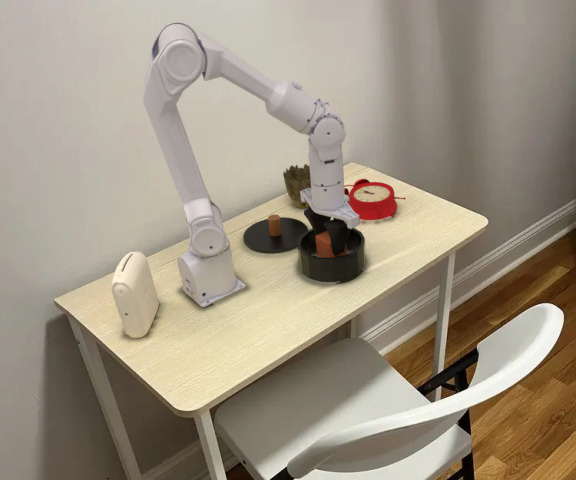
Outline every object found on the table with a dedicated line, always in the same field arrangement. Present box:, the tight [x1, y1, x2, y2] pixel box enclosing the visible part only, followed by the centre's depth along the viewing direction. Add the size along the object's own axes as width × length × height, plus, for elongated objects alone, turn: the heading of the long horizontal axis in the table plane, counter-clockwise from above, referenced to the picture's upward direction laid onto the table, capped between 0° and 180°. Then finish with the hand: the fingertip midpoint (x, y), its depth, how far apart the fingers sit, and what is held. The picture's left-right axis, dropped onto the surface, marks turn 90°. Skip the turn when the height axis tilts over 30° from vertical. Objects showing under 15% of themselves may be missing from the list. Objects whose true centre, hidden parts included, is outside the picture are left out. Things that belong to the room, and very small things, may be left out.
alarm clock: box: [344, 178, 406, 221], centre depth 142 cm, size 10×6×15 cm
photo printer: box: [110, 251, 160, 339], centre depth 117 cm, size 10×4×12 cm, turn 172°
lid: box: [242, 214, 309, 254], centre depth 136 cm, size 13×13×5 cm
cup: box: [282, 163, 311, 209], centre depth 144 cm, size 8×7×8 cm
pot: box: [296, 227, 366, 285], centre depth 127 cm, size 12×12×5 cm
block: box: [316, 231, 348, 258], centre depth 125 cm, size 4×4×4 cm
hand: (331, 248), depth 126 cm, fingers closed on block, 4 cm apart
